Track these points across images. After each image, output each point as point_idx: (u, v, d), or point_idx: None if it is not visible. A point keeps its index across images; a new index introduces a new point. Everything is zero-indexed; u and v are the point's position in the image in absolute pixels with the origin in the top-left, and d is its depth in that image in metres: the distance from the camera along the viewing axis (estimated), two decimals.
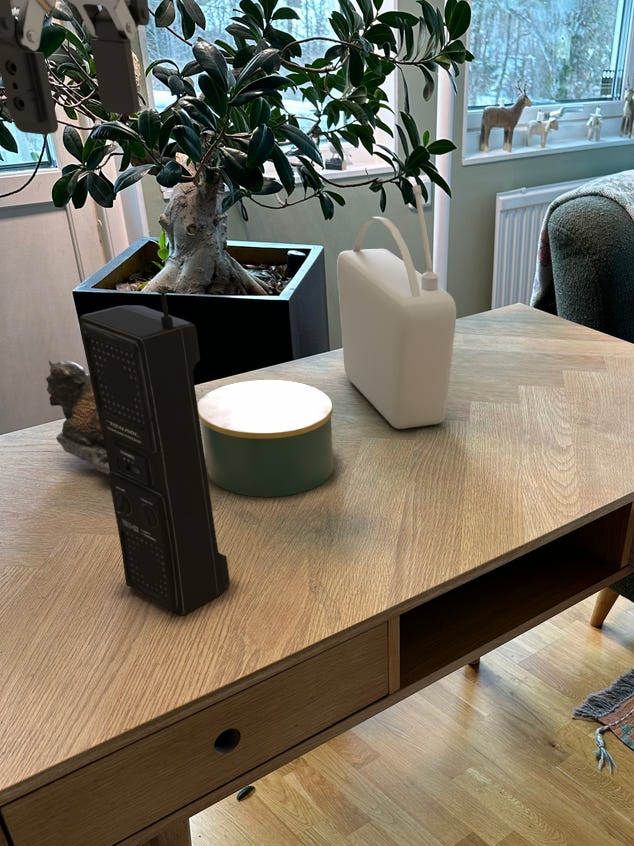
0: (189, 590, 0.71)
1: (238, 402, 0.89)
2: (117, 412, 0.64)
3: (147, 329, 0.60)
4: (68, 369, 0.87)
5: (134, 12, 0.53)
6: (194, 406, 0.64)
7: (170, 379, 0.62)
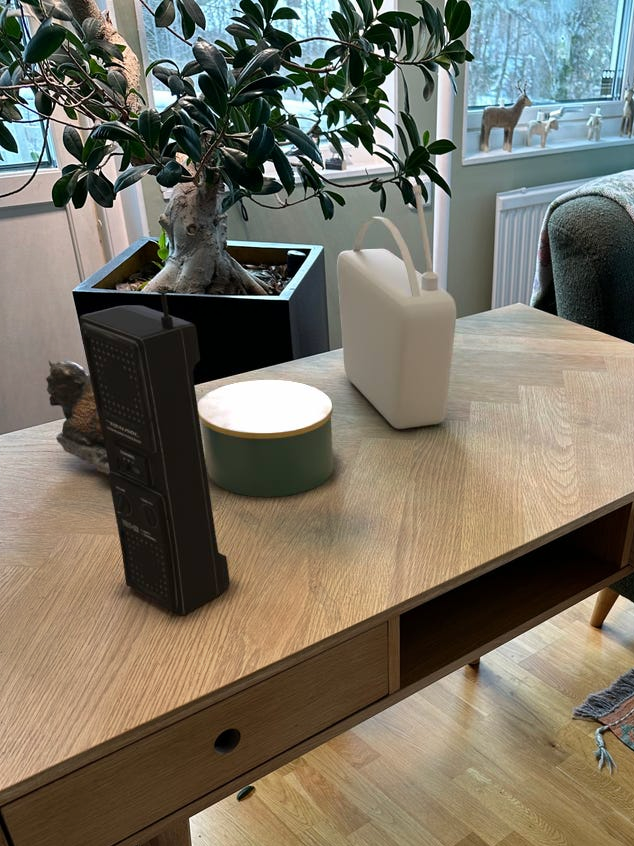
0: (189, 590, 0.71)
1: (238, 402, 0.89)
2: (117, 412, 0.64)
3: (147, 329, 0.60)
4: (67, 369, 0.87)
5: None
6: (194, 406, 0.64)
7: (170, 379, 0.62)
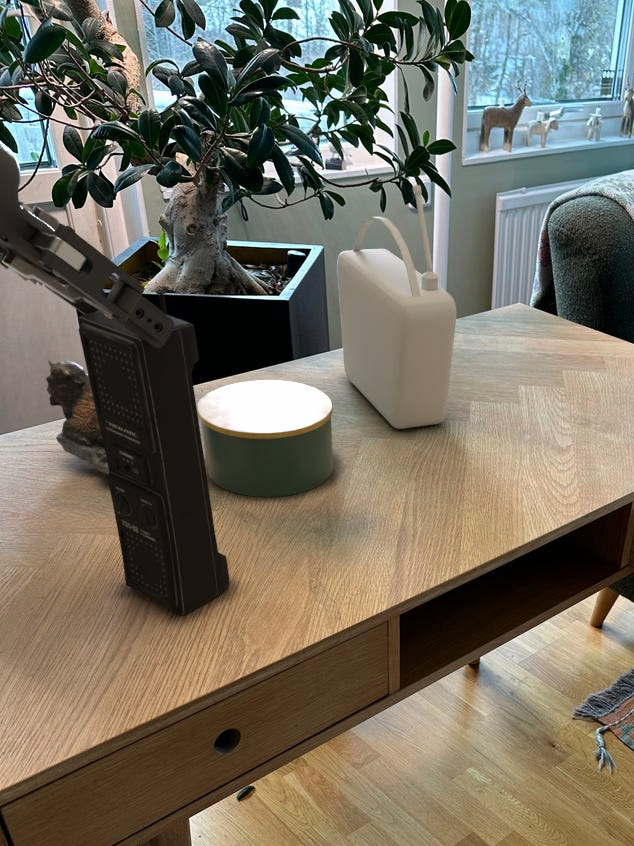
0: (189, 590, 0.71)
1: (238, 402, 0.89)
2: (116, 412, 0.64)
3: None
4: (68, 369, 0.87)
5: None
6: (193, 406, 0.64)
7: (168, 379, 0.62)
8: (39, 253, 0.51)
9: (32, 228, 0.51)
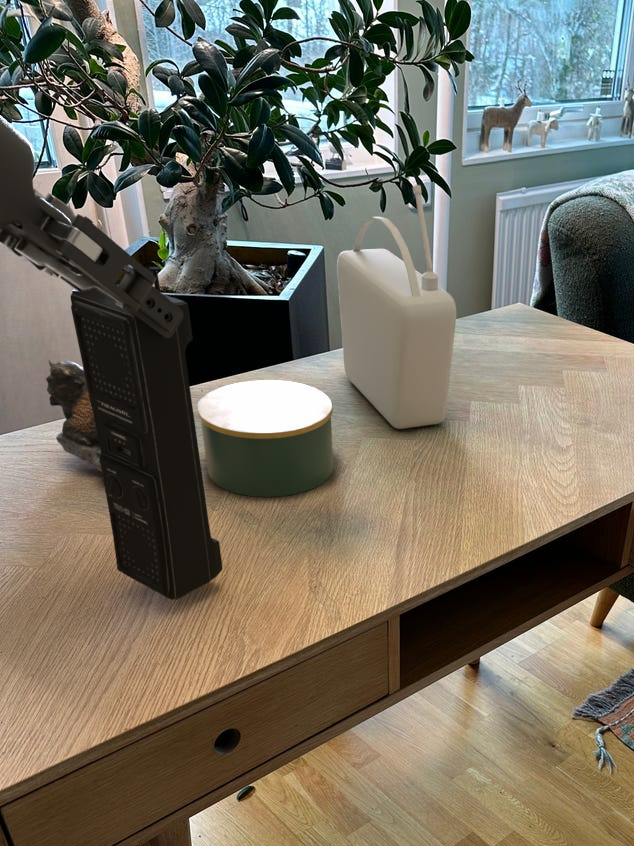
0: (181, 574, 0.70)
1: (238, 402, 0.89)
2: (108, 392, 0.63)
3: None
4: (67, 369, 0.87)
5: None
6: (186, 386, 0.64)
7: (161, 357, 0.61)
8: (52, 240, 0.51)
9: (47, 216, 0.51)
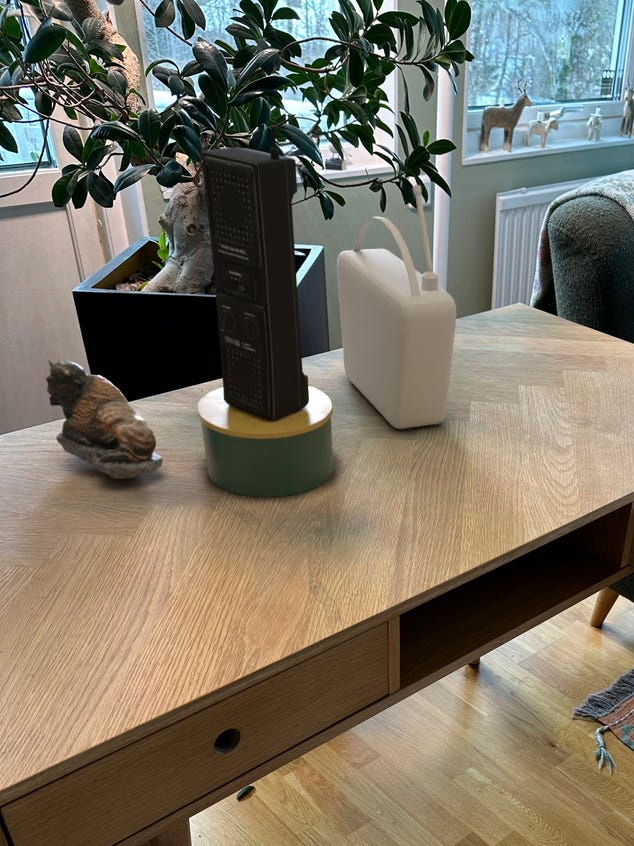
0: (279, 398, 0.85)
1: None
2: (228, 235, 0.78)
3: (259, 158, 0.74)
4: (67, 369, 0.87)
5: None
6: (291, 231, 0.79)
7: (275, 202, 0.76)
8: None
9: None
